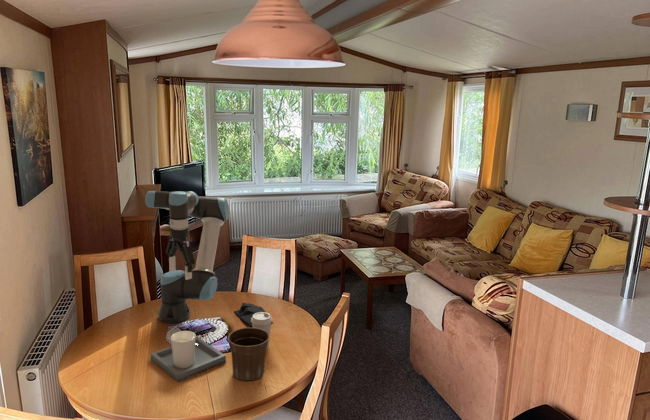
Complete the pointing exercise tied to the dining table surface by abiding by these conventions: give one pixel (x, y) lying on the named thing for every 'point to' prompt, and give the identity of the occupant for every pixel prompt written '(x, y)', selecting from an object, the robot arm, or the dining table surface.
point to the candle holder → (183, 348)
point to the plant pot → (248, 352)
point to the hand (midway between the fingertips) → (180, 274)
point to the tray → (203, 361)
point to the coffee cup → (262, 322)
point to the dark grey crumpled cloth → (248, 312)
